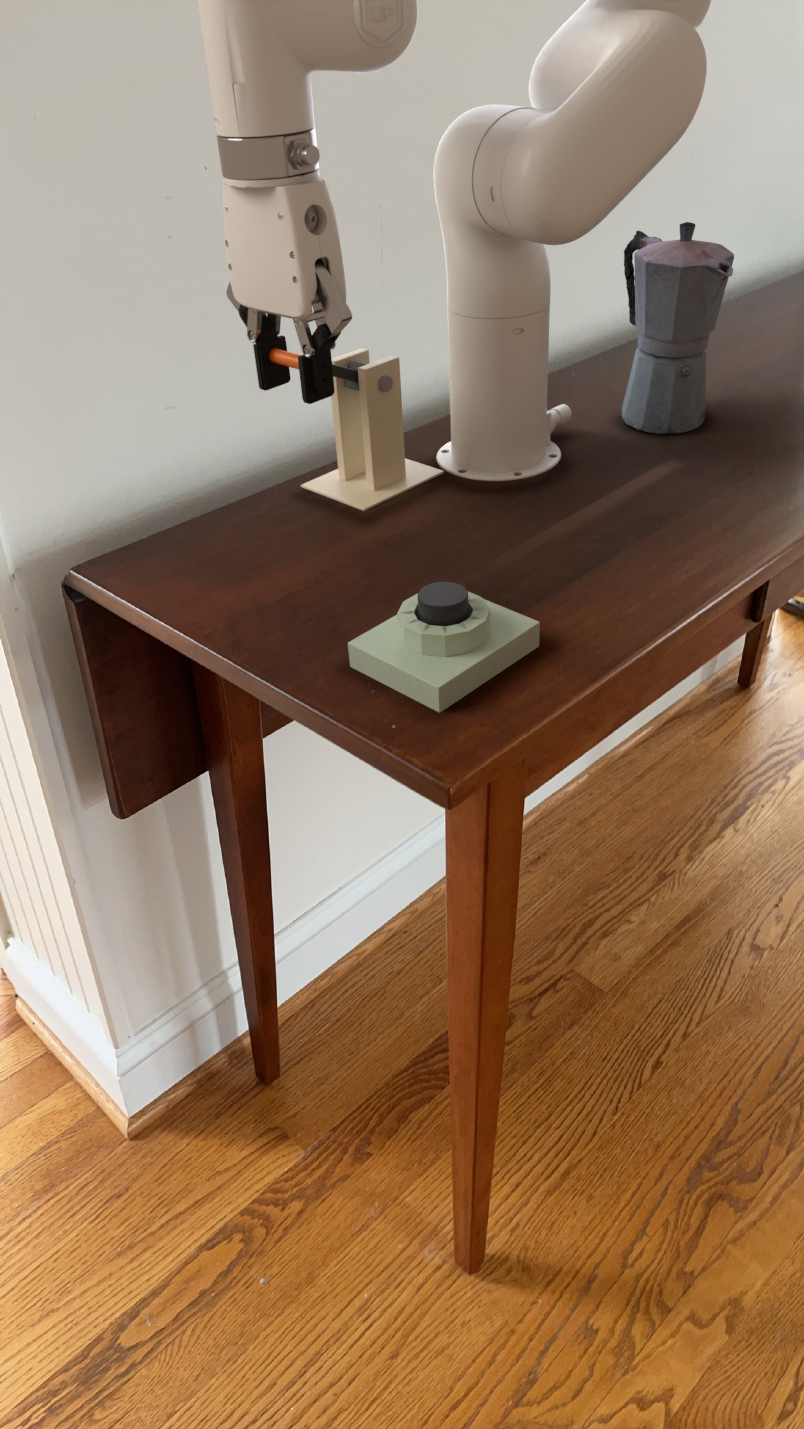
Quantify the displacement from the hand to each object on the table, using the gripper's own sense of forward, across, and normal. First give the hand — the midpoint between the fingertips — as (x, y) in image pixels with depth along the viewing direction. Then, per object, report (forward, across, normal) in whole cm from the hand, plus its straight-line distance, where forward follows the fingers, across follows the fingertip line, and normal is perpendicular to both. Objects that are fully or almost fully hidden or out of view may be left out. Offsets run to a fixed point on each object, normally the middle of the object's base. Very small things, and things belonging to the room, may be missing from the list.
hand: (296, 390), depth 89 cm
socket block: (+12, -26, +10) cm, 30 cm away
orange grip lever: (+1, 0, -4) cm, 4 cm away
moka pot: (+12, -12, -40) cm, 44 cm away
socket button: (+9, -26, +10) cm, 29 cm away
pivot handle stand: (+12, 0, -8) cm, 15 cm away
